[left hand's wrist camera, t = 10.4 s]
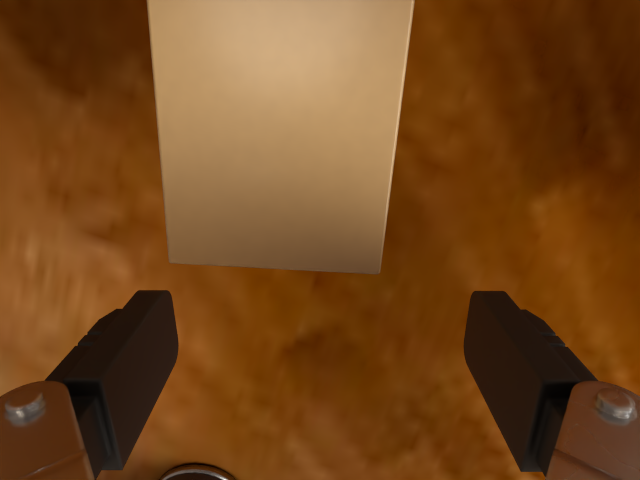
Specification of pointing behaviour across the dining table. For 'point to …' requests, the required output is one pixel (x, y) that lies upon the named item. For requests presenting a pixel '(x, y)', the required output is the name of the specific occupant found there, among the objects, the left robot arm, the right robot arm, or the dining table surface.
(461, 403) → the dining table surface
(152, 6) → the box
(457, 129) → the dining table surface
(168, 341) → the left robot arm
